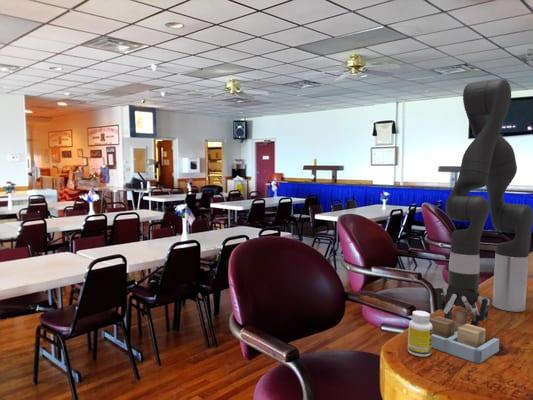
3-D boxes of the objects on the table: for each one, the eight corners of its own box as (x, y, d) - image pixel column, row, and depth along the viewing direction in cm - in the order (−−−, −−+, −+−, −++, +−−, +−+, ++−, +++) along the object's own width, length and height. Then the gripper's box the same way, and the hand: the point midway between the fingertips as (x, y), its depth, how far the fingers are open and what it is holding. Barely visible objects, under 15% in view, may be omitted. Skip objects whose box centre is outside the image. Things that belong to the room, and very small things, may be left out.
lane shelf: (438, 331, 119) (439, 321, 119) (498, 351, 107) (499, 339, 107) (416, 342, 112) (417, 330, 112) (478, 364, 100) (479, 351, 100)
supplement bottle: (433, 358, 103) (434, 318, 102) (409, 356, 104) (410, 316, 103) (429, 348, 108) (431, 310, 107) (406, 346, 109) (407, 308, 108)
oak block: (465, 346, 110) (466, 323, 109) (484, 352, 106) (485, 328, 106) (456, 351, 107) (457, 327, 106) (475, 358, 103) (477, 333, 103)
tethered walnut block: (455, 329, 121) (456, 308, 121) (471, 334, 118) (472, 312, 117) (428, 342, 112) (429, 319, 112) (446, 348, 109) (447, 324, 108)
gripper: (498, 272, 114) (494, 334, 115) (445, 262, 125) (442, 319, 126) (485, 277, 109) (481, 342, 110) (431, 266, 120) (428, 325, 121)
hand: (460, 329), depth 118 cm, fingers open, 6 cm apart
